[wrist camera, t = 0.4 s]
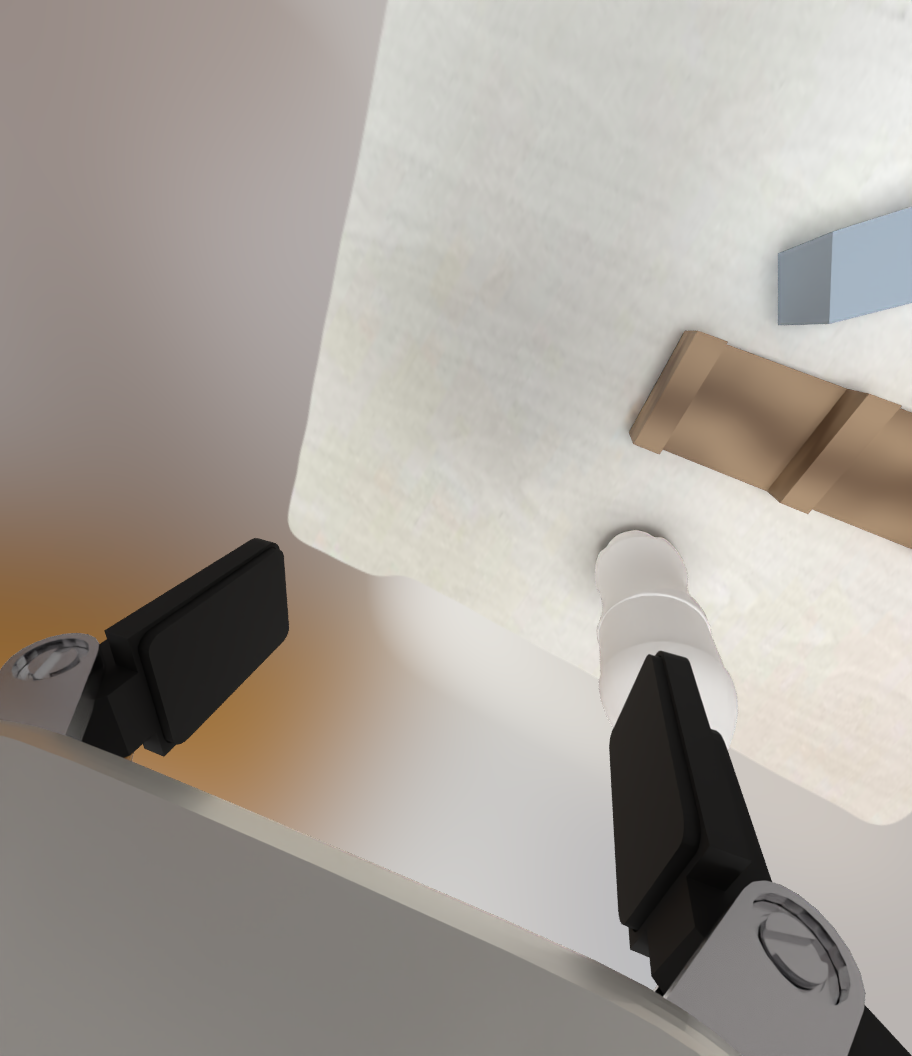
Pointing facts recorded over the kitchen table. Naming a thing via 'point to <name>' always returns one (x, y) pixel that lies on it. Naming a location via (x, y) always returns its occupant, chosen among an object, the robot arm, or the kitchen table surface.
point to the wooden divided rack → (784, 434)
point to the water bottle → (655, 626)
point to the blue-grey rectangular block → (847, 272)
